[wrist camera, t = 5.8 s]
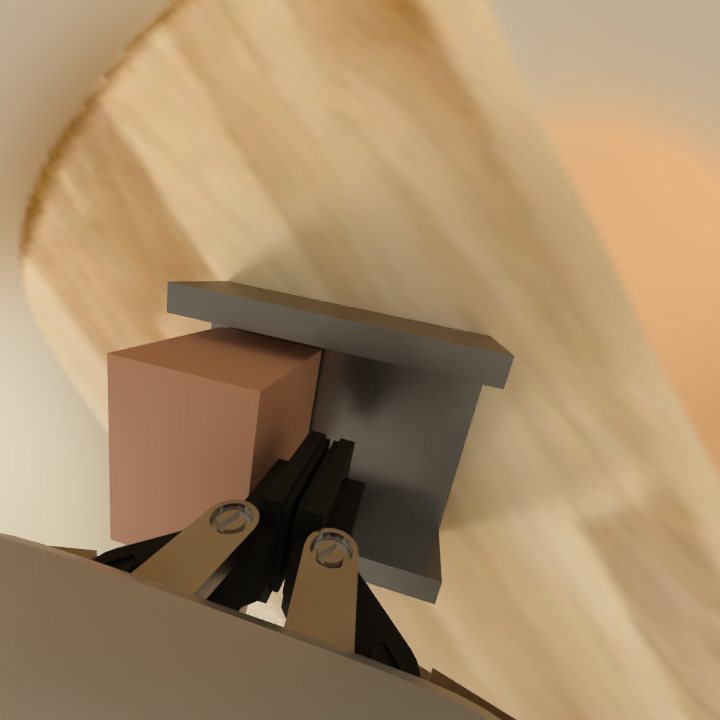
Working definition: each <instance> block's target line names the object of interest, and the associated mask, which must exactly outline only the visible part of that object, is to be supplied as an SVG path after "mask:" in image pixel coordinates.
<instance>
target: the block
mask: <svg viewBox="0 0 720 720" xmlns="http://www.w3.org/2000/svg"><path fill="white" fill-rule="evenodd" d="M321 352H322V350H321V349H317V348H313V347H308V346H304V345H299V344H295V343H291V342H286V341H282V340H278V339H273V338H269V337H265V336H260V335H256V334H251V333H247V332H243V331H238V330H234V329H230V328H225V327H219V328H214V329H210V330H206V331H201V332H197V333H193V334H188V335H184V336H180V337H175V338H171V339H167V340H162V341H158V342H154V343H149V344H145V345H141V346H136V347H132V348H128V349H124V350H119V351H115V352H111V353H107V356H108V413H109V464H110V465H109V466H110V467H109V468H110V526H111V539H112V540H115V541H118V542H121V543H124V544H126V545H130V544H134V543H138V542H141V541H145V540H149V539H152V538H156V537H160V536H164V535H167V534H171V533H175V532H178V531H182V530H184V529H185V528H187V527H188V526H189V525H190V524H192V523H193V522H194V521H195V520H196V519H198V518H199V517H200V516H201V515H202V514H204V513H205V512H206V511H207V510H209V509H210V508H211V507H213V506H214V505H216V504H217V503H220V502H223V501H226V500H233V499H235V500H244V501H245V499H246V498H247V497H248V496H249V494H250V493H251V492H252V491H253V489H254V488H255V487H256V486H257V485H258V483H259V482H260V481H261V480H262V478H263V477H264V476H265V475H266V473H267V472H268V471H269V470H270V468H271V467H272V466H273V465H274V463H275V462H276V461H277V460H278V459H283V460H287V461H289V460H290V458H291V457H292V456H293V454H294V453H295V451H296V450H297V449H298V447H299V446H300V445H301V443H302V442H303V441H304V439H305V438H306V437H307V435H308V433H309V427H310V421H311V414H312V408H313V402H314V396H315V389H316V383H317V377H318V371H319V364H320V358H321Z"/></svg>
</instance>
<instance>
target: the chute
mask: <svg viewBox="0 0 720 720" xmlns="http://www.w3.org/2000/svg"><path fill="white" fill-rule="evenodd" d="M167 312H168V313H172V314H177V315H181V316H185V317H190V318H194V319H199V320H203V321H207V322H212V328H211V329H214V328H219V327H225V328H230V329H234V330H238V331H243V332H247V333H251V334H256V335H260V336H265V337H269V338H273V339H278V340H282V341H286V342H291V343H295V344H299V345H304V346H308V347H313V348H317V349H321V350H322V352H321V358H320V364H319V371H318V377H317V383H316V389H315V396H314V402H313V408H312V414H311V421H310V427H309V432H310V431H311V430H313V431H317V432H320V433H324V434H326V438H327V439H330V445H329V449H330V447H331V445H332V443H333V441H334V440H335V441H338V442H339V440H340V438H342V439H346V440H350V441H354V442H355V446H354V451H353V456H352V460H351V465H350V470H349V475H348V478H350V479H353V480H357V481H360V482H364V483H366V484H365V489H364V494H363V498H362V502H361V506H360V511H359V515H358V519H357V522H356V526H355V530H354V534H353V537H352V539H353V540H354V541H355V543H356V545H357V547H358V553H359V559H358V572H359V573H360V575H361V576H362V578H363V579H364V581H365V582H367V583H370V584H373V585H376V586H379V587H383V588H386V589H389V590H392V591H395V592H398V593H401V594H405V595H408V596H411V597H414V598H417V599H420V600H423V601H426V602H430V603H433V604H435V602H436V599H437V596H438V592H439V589H440V586H441V583H442V578H441V562H440V545H439V527H440V523H441V520H442V517H443V513H444V510H445V507H446V503H447V500H448V497H449V493H450V490H451V487H452V483H453V480H454V477H455V473H456V470H457V467H458V463H459V460H460V457H461V453H462V450H463V447H464V443H465V440H466V437H467V433H468V430H469V427H470V423H471V420H472V417H473V413H474V410H475V407H476V403H477V400H478V397H479V393H480V390H481V387H482V384H483V385H488V386H492V387H496V388H501V389H504V386H505V383H506V380H507V377H508V374H509V370H510V367H511V364H512V361H513V358H514V355H512V354H511V353H510V352H509V351H508V350H506V349H505V348H504V347H503V346H502V345H500V344H499V343H498V342H497V341H496V340H494V339H493V338H492V337H490V336H486V335H481V334H476V333H471V332H466V331H462V330H457V329H452V328H447V327H443V326H438V325H433V324H428V323H423V322H419V321H414V320H409V319H404V318H400V317H395V316H390V315H385V314H380V313H376V312H371V311H366V310H361V309H357V308H352V307H347V306H342V305H337V304H333V303H328V302H323V301H318V300H314V299H309V298H304V297H299V296H294V295H290V294H285V293H280V292H275V291H271V290H266V289H261V288H256V287H251V286H247V285H242V284H237V283H232V282H228V281H192V282H168V295H167ZM308 434H309V433H308Z"/></svg>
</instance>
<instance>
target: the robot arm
mask: <svg viewBox="0 0 720 720" xmlns="http://www.w3.org/2000/svg"><path fill="white" fill-rule="evenodd" d="M329 445H330V439H327V438H326V434H324V433H320V432H317V431H313V430H311V431H310V432H309V434H308V435H307V437H306V438H305V439H304V441H303V442H302V443H301V445H300V446H299V447H298V449H297V450H296V451H295V453H294V454H293V456H292V457H291V458H290V460H289V461H287V460H283V459H278V460H277V461H276V462H275V463H274V465H273V466H272V467H271V468H270V470H269V471H268V472H267V473H266V475H265V476H264V477H263V478H262V480H261V481H260V482H259V483H258V485H257V486H256V487H255V488H254V489H253V491H252V492H251V493H250V494H249V496H248V497H247V498H246V499H245V501H244V500H235V499H233V500H226V501H223V502H220V503H217V504H216V505H214V506H213V507H211V508H210V509H209V510H207V511H206V512H205V513H204V514H202V515H201V516H200V517H199V518H198V519H196V520H195V521H194V522H193V523H192V524H190V525H189V526H188V527H187V528H185V529H184V530H182V531H178V532H175V533H171V534H167V535H164V536H160V537H156V538H152V539H149V540H145V541H141V542H138V543H134V544H130V545H127V546H123V547H119V548H116V549H113V550H110V551H107V552H105V553H103V554H101V555H100V556H97V551H95V550H85V549H75V548H65V547H55V546H46V545H44V544H40V543H37V542H33V541H30V540H26V539H22V538H19V537H15V536H11V535H7V534H1V533H0V720H516V719H514V718H512V717H511V716H509V715H508V714H506V713H504V712H503V711H501V710H500V709H498V708H496V707H495V706H493V705H492V704H490V703H488V702H487V701H485V700H484V699H482V698H480V697H479V696H477V695H476V694H474V693H472V692H471V691H469V690H468V689H466V688H464V687H463V686H461V685H460V684H458V683H456V682H455V681H453V680H452V679H450V678H448V677H447V676H445V675H443V674H442V673H440V672H439V671H437V670H435V669H434V668H432V671H431V673H430V672H428V671H427V670H425V669H424V668H422V667H420V666H419V665H418V663H417V660H416V658H415V656H414V654H413V652H412V650H411V649H410V647H409V646H408V644H407V643H406V641H405V640H404V638H403V637H402V636H401V634H400V633H399V631H398V630H397V628H396V627H395V625H394V624H393V622H392V621H391V619H390V618H389V616H388V615H387V613H386V612H385V610H384V609H383V607H382V606H381V605H380V603H379V602H378V600H377V599H376V597H375V596H374V594H373V593H372V591H371V590H370V588H369V587H368V585H367V584H366V582H365V581H364V579H363V578H362V576H361V575H360V573H359V572H358V559H359V553H358V547H357V545H356V543H355V541H354V540H353V539H352V537H353V534H354V530H355V526H356V522H357V519H358V515H359V511H360V506H361V502H362V498H363V494H364V489H365V484H366V483H364V482H360V481H357V480H353V479H350V478H348V475H349V470H350V465H351V460H352V456H353V451H354V446H355V442H354V441H350V440H346V439H342V438H340V440H339V442H338V441H335V440H334V441H333V443H332V445H331V447H330V449H329ZM284 579H285V581H284ZM283 581H284V587H283V601H282V606H281V608H282V610H283V613H284V615H285V617H286V622H285V626H284V627H281V626H278V625H276V624H273V623H270V622H267V621H264V620H262V619H259V618H256V617H253V616H250V615H247V614H245V613H246V611H247V606H248V605H249V604H251V603H253V602H256V601H260V602H263V603H266V602H267V600H268V598H269V596H270V594H271V592H272V591H274V592H278V591H279V590H280V587H281V585H282V583H283Z"/></svg>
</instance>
